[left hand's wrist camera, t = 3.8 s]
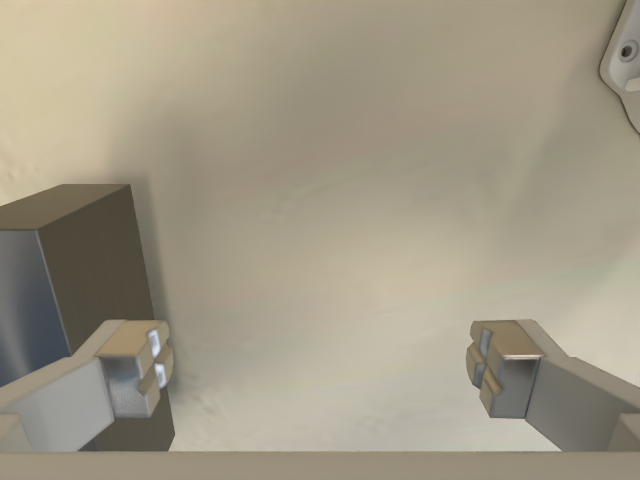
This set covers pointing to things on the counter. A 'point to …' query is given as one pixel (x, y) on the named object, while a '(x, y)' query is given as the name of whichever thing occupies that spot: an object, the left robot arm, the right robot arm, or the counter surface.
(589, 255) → the counter surface
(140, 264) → the box
